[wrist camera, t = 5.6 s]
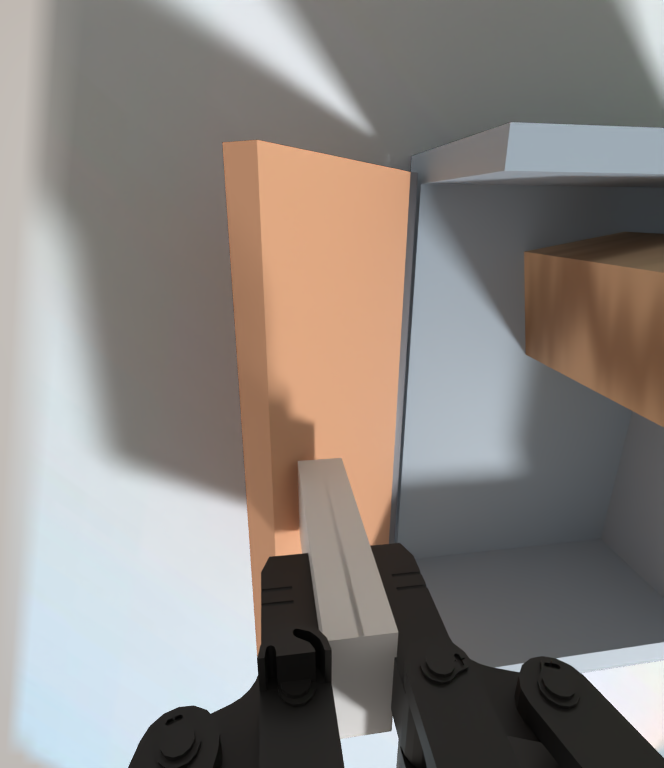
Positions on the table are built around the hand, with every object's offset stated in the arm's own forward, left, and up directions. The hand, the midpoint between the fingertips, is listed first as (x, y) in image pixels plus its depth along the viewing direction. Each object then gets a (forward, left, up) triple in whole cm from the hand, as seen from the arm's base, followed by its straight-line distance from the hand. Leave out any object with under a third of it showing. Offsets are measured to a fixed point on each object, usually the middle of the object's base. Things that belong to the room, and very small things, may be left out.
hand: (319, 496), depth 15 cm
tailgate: (0, +5, -8) cm, 9 cm away
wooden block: (-5, +13, -8) cm, 16 cm away
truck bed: (0, +12, -9) cm, 15 cm away
